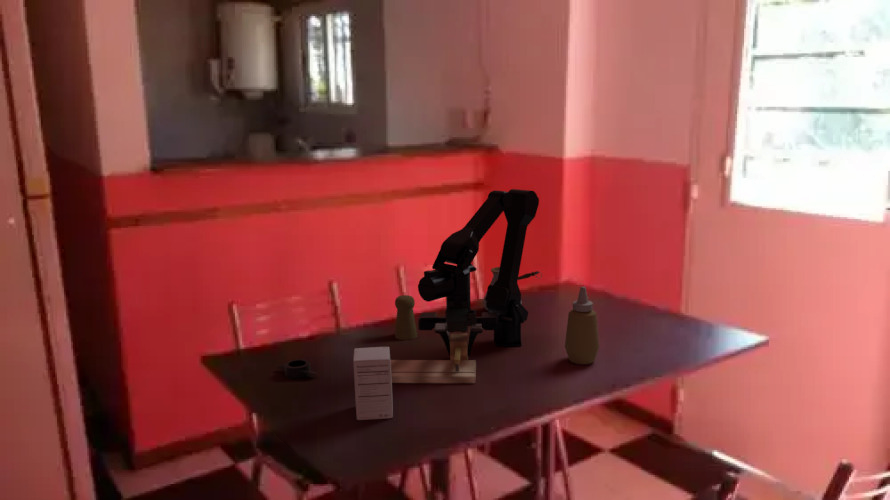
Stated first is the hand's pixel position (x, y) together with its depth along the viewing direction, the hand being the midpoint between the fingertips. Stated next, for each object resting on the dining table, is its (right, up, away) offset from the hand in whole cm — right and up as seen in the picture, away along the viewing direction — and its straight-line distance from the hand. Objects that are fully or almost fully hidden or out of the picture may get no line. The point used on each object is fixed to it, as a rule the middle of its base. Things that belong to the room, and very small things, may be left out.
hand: (459, 355), depth 172 cm
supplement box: (-18, -8, -26) cm, 33 cm away
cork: (-14, +2, +20) cm, 24 cm away
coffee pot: (+16, +6, +35) cm, 39 cm away
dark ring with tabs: (-37, -4, -5) cm, 38 cm away
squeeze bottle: (+29, -1, -1) cm, 29 cm away
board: (-7, -3, -7) cm, 11 cm away
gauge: (0, -2, -4) cm, 5 cm away
